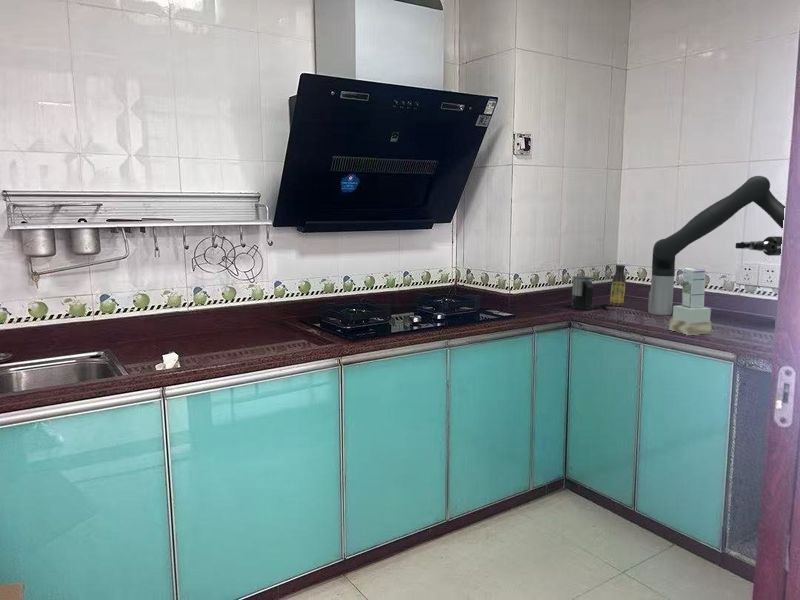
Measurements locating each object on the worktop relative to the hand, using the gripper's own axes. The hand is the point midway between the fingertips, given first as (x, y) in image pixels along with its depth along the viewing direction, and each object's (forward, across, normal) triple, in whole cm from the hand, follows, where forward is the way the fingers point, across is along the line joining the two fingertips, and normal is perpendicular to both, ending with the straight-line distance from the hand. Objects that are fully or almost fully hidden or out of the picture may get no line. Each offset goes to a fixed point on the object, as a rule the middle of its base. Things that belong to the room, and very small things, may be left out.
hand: (744, 246), depth 232 cm
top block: (+26, +5, +27) cm, 38 cm away
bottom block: (+26, +5, +32) cm, 42 cm away
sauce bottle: (+15, -58, +32) cm, 68 cm away
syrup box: (+26, +5, +22) cm, 35 cm away
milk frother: (+33, -53, +32) cm, 70 cm away
